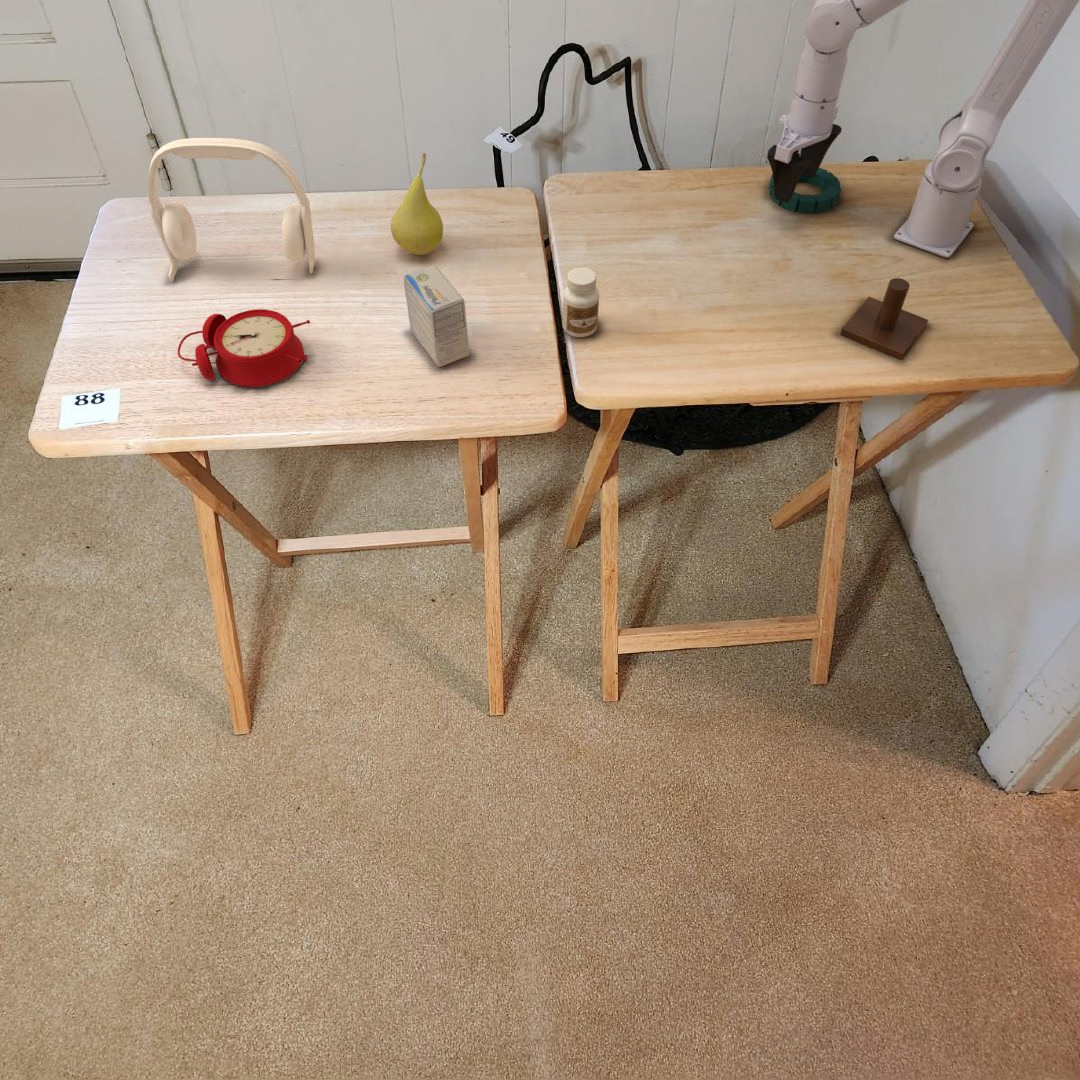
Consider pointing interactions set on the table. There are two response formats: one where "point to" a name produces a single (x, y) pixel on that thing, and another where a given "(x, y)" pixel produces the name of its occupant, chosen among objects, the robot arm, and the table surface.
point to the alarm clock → (249, 348)
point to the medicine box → (437, 315)
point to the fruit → (417, 220)
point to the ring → (812, 202)
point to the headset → (178, 221)
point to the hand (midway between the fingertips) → (794, 187)
